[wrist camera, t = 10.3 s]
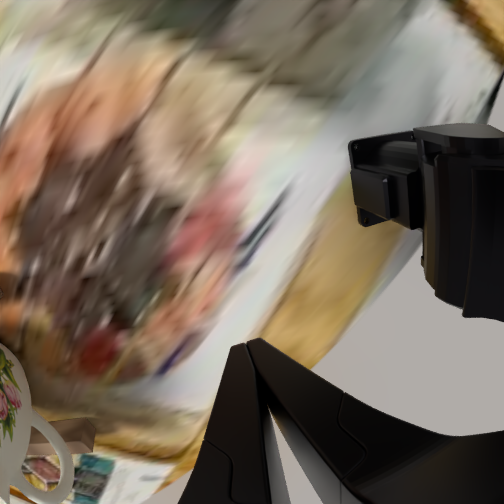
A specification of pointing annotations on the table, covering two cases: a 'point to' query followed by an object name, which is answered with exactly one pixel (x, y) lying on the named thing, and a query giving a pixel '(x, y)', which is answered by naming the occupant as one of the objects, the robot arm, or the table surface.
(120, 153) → the table surface
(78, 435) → the dock
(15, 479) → the pitcher
